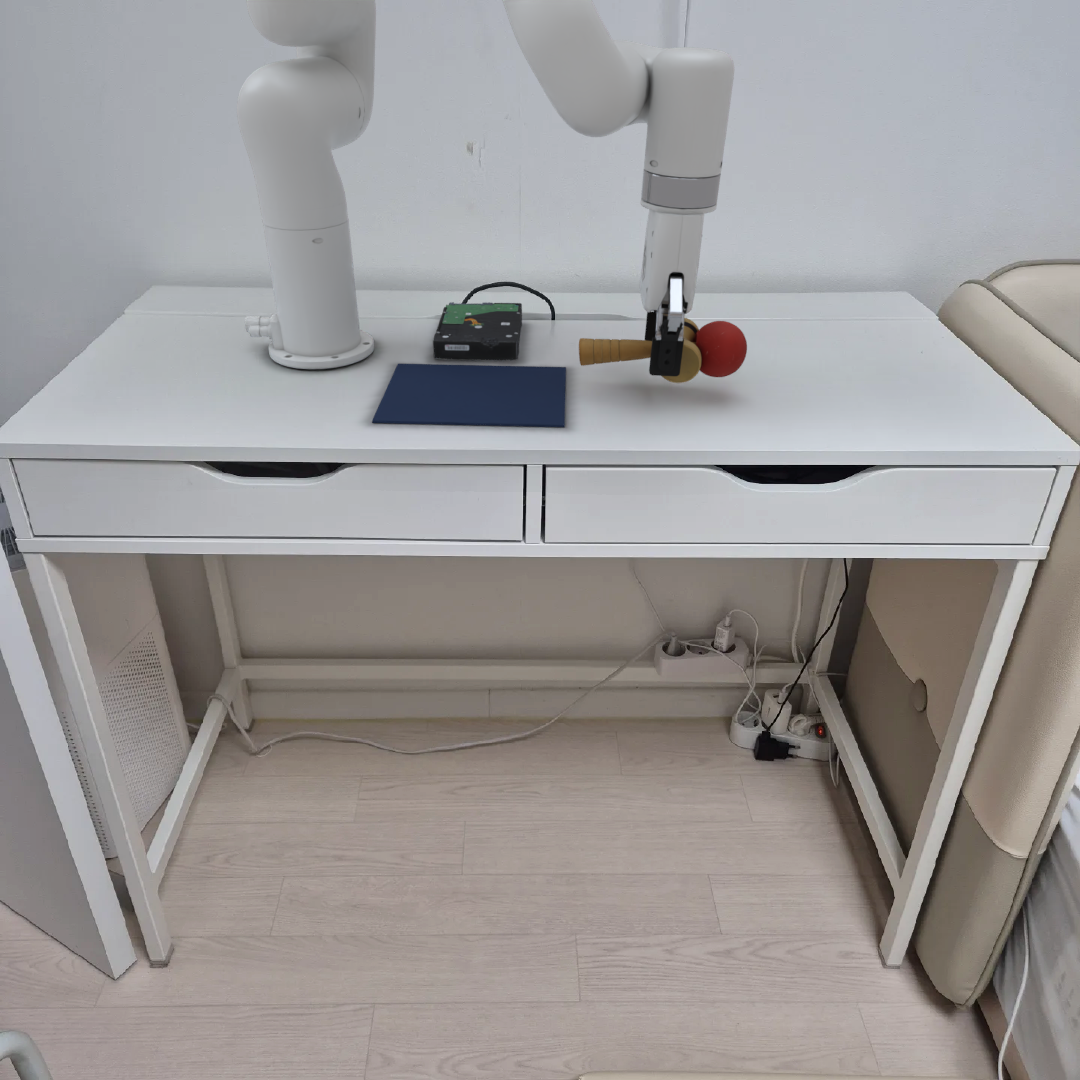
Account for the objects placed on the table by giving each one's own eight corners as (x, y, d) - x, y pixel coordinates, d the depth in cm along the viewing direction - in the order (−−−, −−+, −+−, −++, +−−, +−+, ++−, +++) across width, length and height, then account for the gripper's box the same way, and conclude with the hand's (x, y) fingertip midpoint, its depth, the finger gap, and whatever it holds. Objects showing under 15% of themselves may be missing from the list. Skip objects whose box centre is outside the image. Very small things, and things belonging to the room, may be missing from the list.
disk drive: (519, 363, 108) (522, 321, 120) (519, 341, 106) (522, 300, 119) (433, 363, 108) (445, 320, 120) (432, 340, 106) (444, 300, 119)
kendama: (578, 392, 96) (749, 383, 94) (574, 332, 94) (750, 321, 91) (585, 377, 104) (744, 368, 101) (581, 321, 101) (744, 311, 98)
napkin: (372, 423, 93) (372, 420, 93) (398, 365, 107) (397, 363, 106) (564, 427, 93) (564, 424, 92) (566, 369, 106) (566, 366, 106)
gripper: (636, 171, 96) (623, 331, 105) (647, 209, 81) (630, 391, 91) (707, 174, 96) (687, 334, 105) (730, 213, 81) (704, 394, 91)
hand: (661, 359), depth 98 cm, fingers closed on kendama, 7 cm apart
